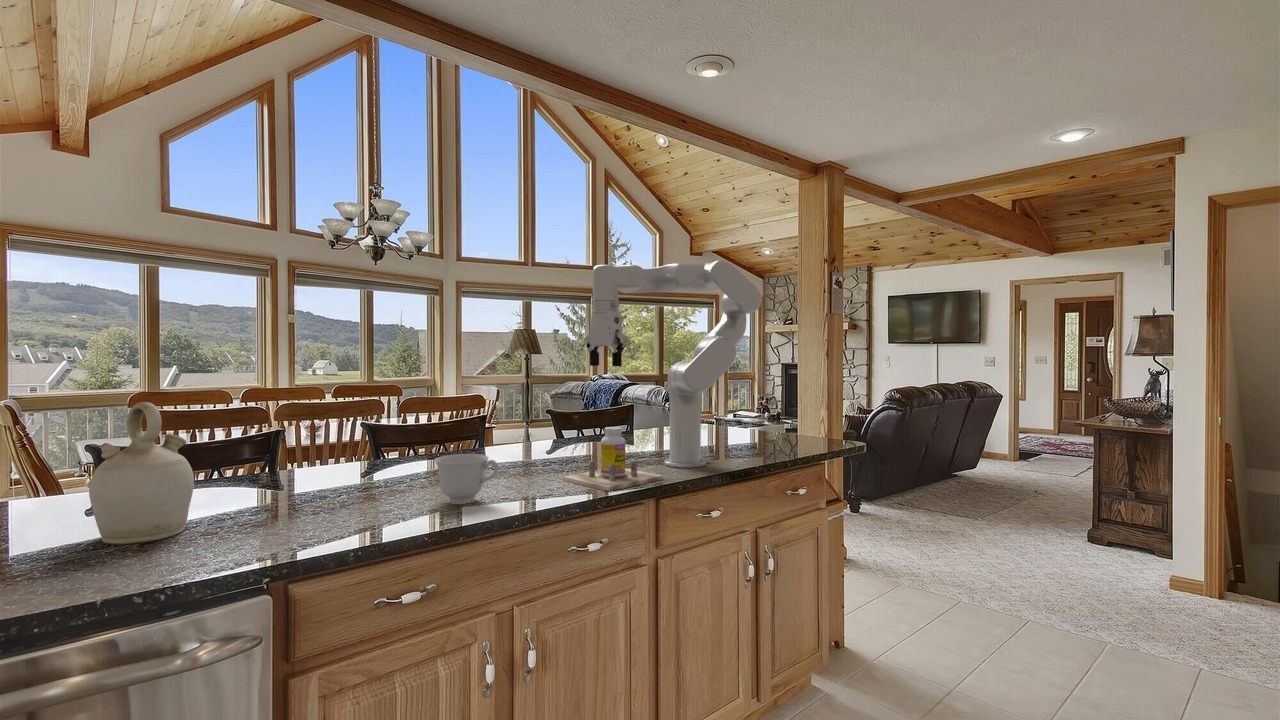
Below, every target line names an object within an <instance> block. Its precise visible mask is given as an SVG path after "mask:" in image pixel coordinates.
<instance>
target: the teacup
mask: <svg viewBox="0 0 1280 720" xmlns="http://www.w3.org/2000/svg"><path fill="white" fill-rule="evenodd" d="M433 461H434V463H436V466H437V470H438V471H437V472H438V479H439V485H440V490H441V492H442V494H443V495H445V496H446V497H448V498H449V499H448V503H449V504H450V505H467V504H466V503H468V504H471V502H472V503H474V502H475V501H476V500H475V496H476V495H478V493H480V492H481V490H482V488H483V485H484V484H485V483H486V482H488V481H490V480H493V479H495V478H496V477H497V475H498V474H499V473H498V472H499V464H498V463H497V461H496V460H494V459H489V456H488V455H485V454H478V453H456V454H447V455H441V456H438V457H435V458H434V460H433ZM490 465H491V466H492V467H493V472H492V474H491V475H489V476H487V477H485V478H484V475H485V470H486V471H487V470H488V469H489V466H490Z"/></svg>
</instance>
